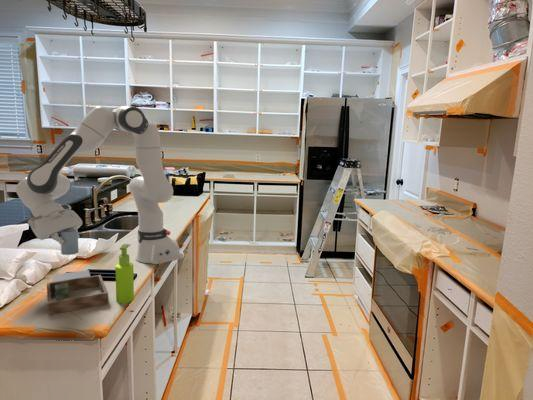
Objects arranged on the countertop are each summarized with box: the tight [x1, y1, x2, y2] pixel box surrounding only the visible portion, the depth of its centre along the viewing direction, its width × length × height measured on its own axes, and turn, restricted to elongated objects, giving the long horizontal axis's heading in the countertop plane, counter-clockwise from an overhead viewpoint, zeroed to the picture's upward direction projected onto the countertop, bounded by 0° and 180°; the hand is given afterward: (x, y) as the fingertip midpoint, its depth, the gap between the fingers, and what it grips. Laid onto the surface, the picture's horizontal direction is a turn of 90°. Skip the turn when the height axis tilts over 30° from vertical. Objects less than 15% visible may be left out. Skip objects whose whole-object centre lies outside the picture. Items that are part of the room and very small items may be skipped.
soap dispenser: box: [115, 243, 135, 304], centre depth 128 cm, size 6×7×20 cm
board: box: [52, 269, 91, 282], centre depth 143 cm, size 13×9×2 cm
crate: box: [46, 274, 109, 316], centre depth 128 cm, size 18×18×4 cm
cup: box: [59, 228, 79, 256], centre depth 141 cm, size 6×6×9 cm
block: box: [54, 283, 70, 301], centre depth 129 cm, size 4×4×4 cm
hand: (71, 240), depth 140 cm, fingers closed on cup, 6 cm apart
